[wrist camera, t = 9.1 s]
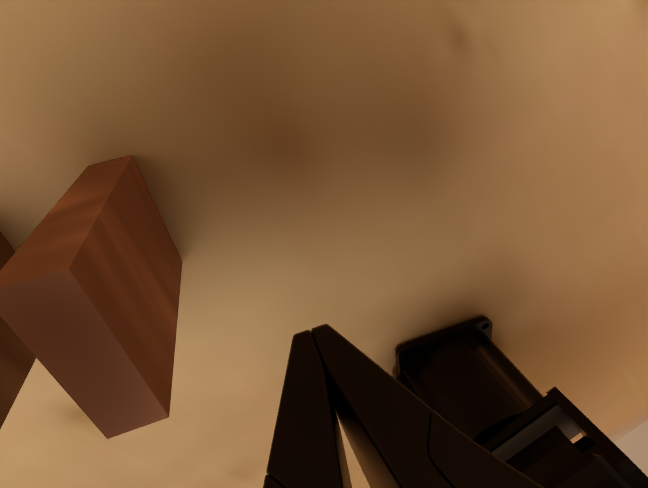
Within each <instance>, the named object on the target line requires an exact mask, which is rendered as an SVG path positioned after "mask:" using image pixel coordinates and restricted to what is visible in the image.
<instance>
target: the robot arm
mask: <svg viewBox="0 0 648 488" xmlns="http://www.w3.org/2000/svg"><path fill="white" fill-rule="evenodd" d="M491 332H492V322H491V321H490V320H489V319H488V318H487V317H486V316H483V317H479V318H477V319H474V320H471V321H468V322H465V323H463V324H460V325H457V326H454V327H451V328H449V329H446V330H443V331H440V332H437V333H435V334H432V335H429V336H426V337H423V338H421V339H418V340H415V341H412V342H409V343H407V344H404V345H402V346H400V347H399V348H398V349H397V350H396V360H397V369H398V375H397V376H396V378H393V377H392V376H391V375H390V374H388V373H387V372H386V371H385V370H383V369H382V368H381V367H380V366H379V365H377V364H376V363H375V362H374V361H372V360H371V359H370V358H369V357H367V356H366V355H365V354H364V353H363V352H361V351H360V350H359V349H358V348H356V347H355V346H354V345H353V344H351V343H350V342H349V341H348V340H347V339H345V338H344V337H343V336H342V335H340V334H339V333H338V332H337V331H335V330H334V329H333V328H332V327H331V326H329V325H328V324H323V325H320V326H317V327H314V328H312V330H311V331H310V330H306V331H303V332H300V333H297V334H295V335H294V336H293V339H292V344H291V349H290V354H289V359H288V364H287V370H286V375H285V380H284V385H283V390H282V395H281V400H280V405H279V410H278V415H277V420H276V425H275V430H274V436H273V441H272V446H271V451H270V456H269V461H268V466H267V471H266V472H267V474H268V475H266V476H265V480H264V485H263V488H352V485H351V480H350V475H349V470H348V465H347V460H346V455H345V450H344V445H343V440H342V435H341V430H340V426H339V422H338V418H339V421H340V423H341V426H342V428H343V430H344V432H345V434H346V436H347V439H348V441H349V443H350V445H351V447H352V449H353V451H354V453H355V456H356V458H357V460H358V462H359V464H360V466H361V468H362V471H363V473H364V475H365V477H366V479H367V481H368V483H369V485H370V488H648V477H647V476H646V475H645V474H644V473H643V472H642V471H641V470H640V469H639V468H638V467H637V466H636V465H635V464H634V463H633V462H632V461H631V460H630V459H629V458H628V457H627V456H626V455H625V454H624V453H623V452H622V451H621V450H620V449H619V448H618V447H617V446H616V445H615V444H614V443H613V442H612V441H611V440H610V439H609V438H608V437H607V436H606V435H605V434H603V433H602V432H601V431H600V430H599V429H598V428H597V427H596V426H595V425H594V424H593V423H592V422H591V421H590V420H589V419H588V418H587V417H586V416H585V415H584V414H583V413H582V412H581V411H580V410H579V409H578V408H577V407H576V406H575V405H573V404H572V403H571V402H570V401H569V400H568V399H567V398H566V397H565V396H564V395H563V394H562V393H561V392H560V391H559V390H558V389H557V388H556V387H553V388H552V389H551V390H549V391H548V392H547V395H546V396H545V397H543V396H542V395H541V393H540V392H539V391H538V390H537V389H536V388H535V387H534V386H533V385H532V384H531V383H530V382H529V381H528V379H527V378H526V377H525V376H524V375H523V374H522V373H521V372H520V371H519V370H518V369H517V368H516V367H515V366H514V364H513V363H512V362H511V361H510V360H509V359H508V358H507V357H506V356H505V355H504V354H503V353H502V352H501V350H500V349H499V348H498V347H497V346H496V345H495V344H494V343H493V342H492V341H491ZM336 413H337V414H336ZM337 416H338V418H337ZM579 433H581V434H582V435H583V436H584V437H582V438H581V439H579V440H578V441H577V442H575V443H574V444H573V443H572V442H571V441H570V439H572V438H573V437H575V436H576V435H577V434H579Z"/></svg>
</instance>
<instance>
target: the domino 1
mask: <svg viewBox="0 0 648 488" xmlns="http://www.w3.org/2000/svg"><path fill="white" fill-rule="evenodd" d="M14 254H15V251H14V249H13V248H12V247H11V245H10V244H9V243H8V241H7V240H6V239H5V237H4V236H3V235H2V233H1V232H0V270H1V269H2V268H3V267H4V265H5V264H6V263H7V262H8V261H9V259H10V258H11V257H12V256H13V255H14ZM35 359H36V356H35V355H34V354H33V353H32V352H31V351H30V350H29V348H28V347H27V346H26V345H25V344H24V343H23V341H22V340H21V339H20V338H19V337H18V336H17V335H16V333H15V332H14V331H13V330H12V329H11V328H10V327H9V325H8V324H7V323H6V322H5V321H4V320H3V319H2V317H1V316H0V429H1V427H2V425H3V423H4V421H5V419H6V417H7V415H8V413H9V411H10V409H11V407H12V405H13V403H14V401H15V399H16V397H17V395H18V393H19V391H20V389H21V387H22V385H23V383H24V381H25V379H26V377H27V375H28V373H29V371H30V369H31V367H32V365H33V363H34V361H35Z"/></svg>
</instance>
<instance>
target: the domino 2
mask: <svg viewBox="0 0 648 488" xmlns="http://www.w3.org/2000/svg"><path fill="white" fill-rule="evenodd" d="M181 271H182V261H181V258H180V256H179V254H178V252H177V250H176V248H175V246H174V243H173V241H172V239H171V237H170V235H169V233H168V231H167V229H166V226H165V224H164V222H163V220H162V218H161V216H160V214H159V211H158V209H157V207H156V205H155V203H154V201H153V199H152V196H151V194H150V192H149V190H148V188H147V186H146V184H145V181H144V179H143V177H142V175H141V173H140V171H139V169H138V166H137V164H136V162H135V160H134V158H133V156H132V155H130V156H126V157H122V158H118V159H114V160H110V161H106V162H102V163H98V164H94V165H90V166H88V167H87V168H86V169H85V170H84V171H83V173H82V174H81V175H80V176H79V177H78V179H77V180H76V181H75V182H74V183H73V185H72V186H71V187H70V188H69V189H68V190H67V192H66V193H65V194H64V195H63V196H62V198H61V199H60V200H59V201H58V202H57V204H56V205H55V206H54V207H53V208H52V210H51V211H50V212H49V213H48V214H47V215H46V217H45V218H44V219H43V220H42V221H41V223H40V224H39V225H38V226H37V227H36V229H35V230H34V231H33V232H32V233H31V235H30V236H29V237H28V238H27V239H26V240H25V242H24V243H23V244H22V245H21V246H20V248H19V249H18V250H17V251H16V252H15V254H14V255H13V256H12V257H11V258H10V259H9V261H8V262H7V263H6V264H5V265H4V267H3V268H2V269H1V270H0V316H1V317H2V319H3V320H4V321H5V322H6V323H7V324H8V325H9V327H10V328H11V329H12V330H13V331H14V332H15V333H16V335H17V336H18V337H19V338H20V339H21V340H22V341H23V343H24V344H25V345H26V346H27V347H28V348H29V350H30V351H31V352H32V353H33V354H34V355H35V356H36V358H37V359H38V360H39V361H40V362H41V363H42V364H43V366H44V367H45V368H46V369H47V370H48V371H49V372H50V374H51V375H52V376H53V377H54V378H55V379H56V381H57V382H58V383H59V384H60V385H61V386H62V387H63V389H64V390H65V391H66V392H67V393H68V394H69V395H70V397H71V398H72V399H73V400H74V401H75V402H76V403H77V405H78V406H79V407H80V408H81V409H82V410H83V412H84V413H85V414H86V415H87V416H88V417H89V418H90V420H91V421H92V422H93V423H94V424H95V425H96V426H97V428H98V429H99V430H100V431H101V432H102V433H103V434H104V436H105V437H106V438H107V439H109V438H111V437H114V436H117V435H120V434H123V433H126V432H128V431H131V430H134V429H137V428H140V427H143V426H145V425H148V424H151V423H154V422H157V421H159V420H162V419H165V418H168V417H169V411H170V399H171V388H172V376H173V364H174V353H175V341H176V329H177V317H178V306H179V294H180V282H181Z"/></svg>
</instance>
